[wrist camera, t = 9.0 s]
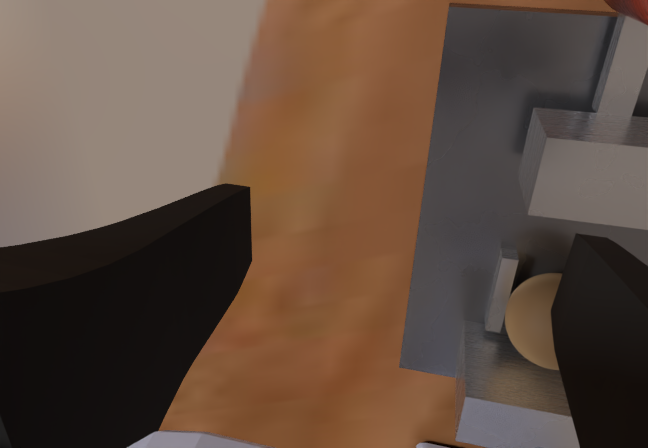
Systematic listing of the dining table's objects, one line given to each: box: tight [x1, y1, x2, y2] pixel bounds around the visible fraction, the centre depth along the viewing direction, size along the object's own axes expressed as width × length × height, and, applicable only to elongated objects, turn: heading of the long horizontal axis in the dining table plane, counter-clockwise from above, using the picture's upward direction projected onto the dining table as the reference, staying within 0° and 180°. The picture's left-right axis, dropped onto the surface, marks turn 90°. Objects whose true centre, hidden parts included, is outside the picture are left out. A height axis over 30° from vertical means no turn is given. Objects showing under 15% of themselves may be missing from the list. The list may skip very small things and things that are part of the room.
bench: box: [399, 3, 648, 448], centre depth 18 cm, size 16×11×6 cm
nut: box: [505, 273, 562, 370], centre depth 20 cm, size 4×4×4 cm
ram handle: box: [518, 0, 648, 230], centre depth 14 cm, size 8×5×5 cm, turn 178°
